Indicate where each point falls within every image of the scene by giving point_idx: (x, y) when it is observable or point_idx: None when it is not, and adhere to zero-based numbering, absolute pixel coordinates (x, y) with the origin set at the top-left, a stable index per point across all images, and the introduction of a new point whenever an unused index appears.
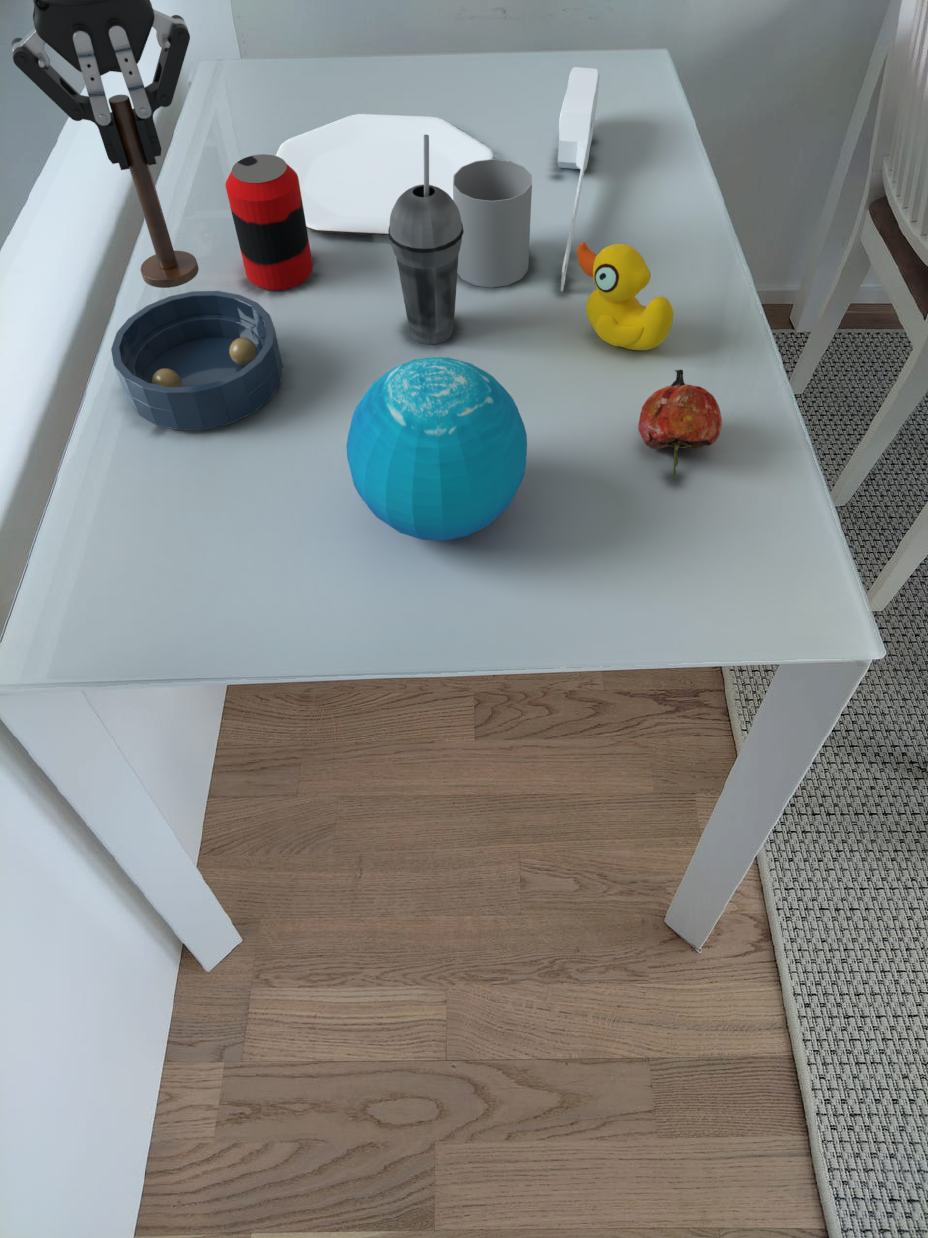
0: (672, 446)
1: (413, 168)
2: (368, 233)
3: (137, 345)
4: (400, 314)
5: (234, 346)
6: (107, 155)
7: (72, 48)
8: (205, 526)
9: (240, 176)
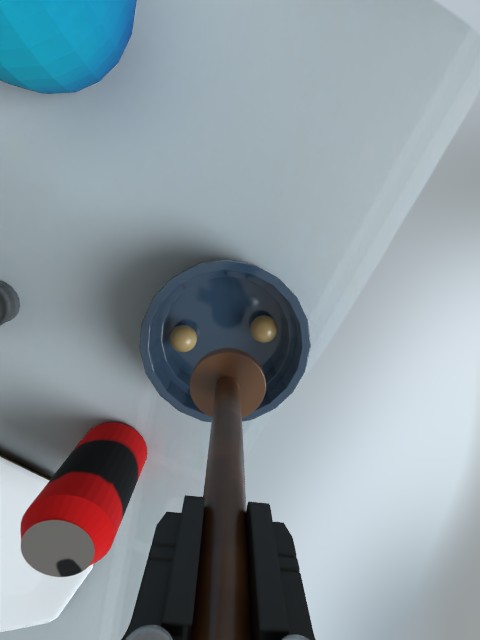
0: None
1: None
2: (11, 461)
3: (273, 385)
4: (21, 340)
5: (189, 339)
6: (293, 544)
7: None
8: (289, 141)
9: (86, 542)
